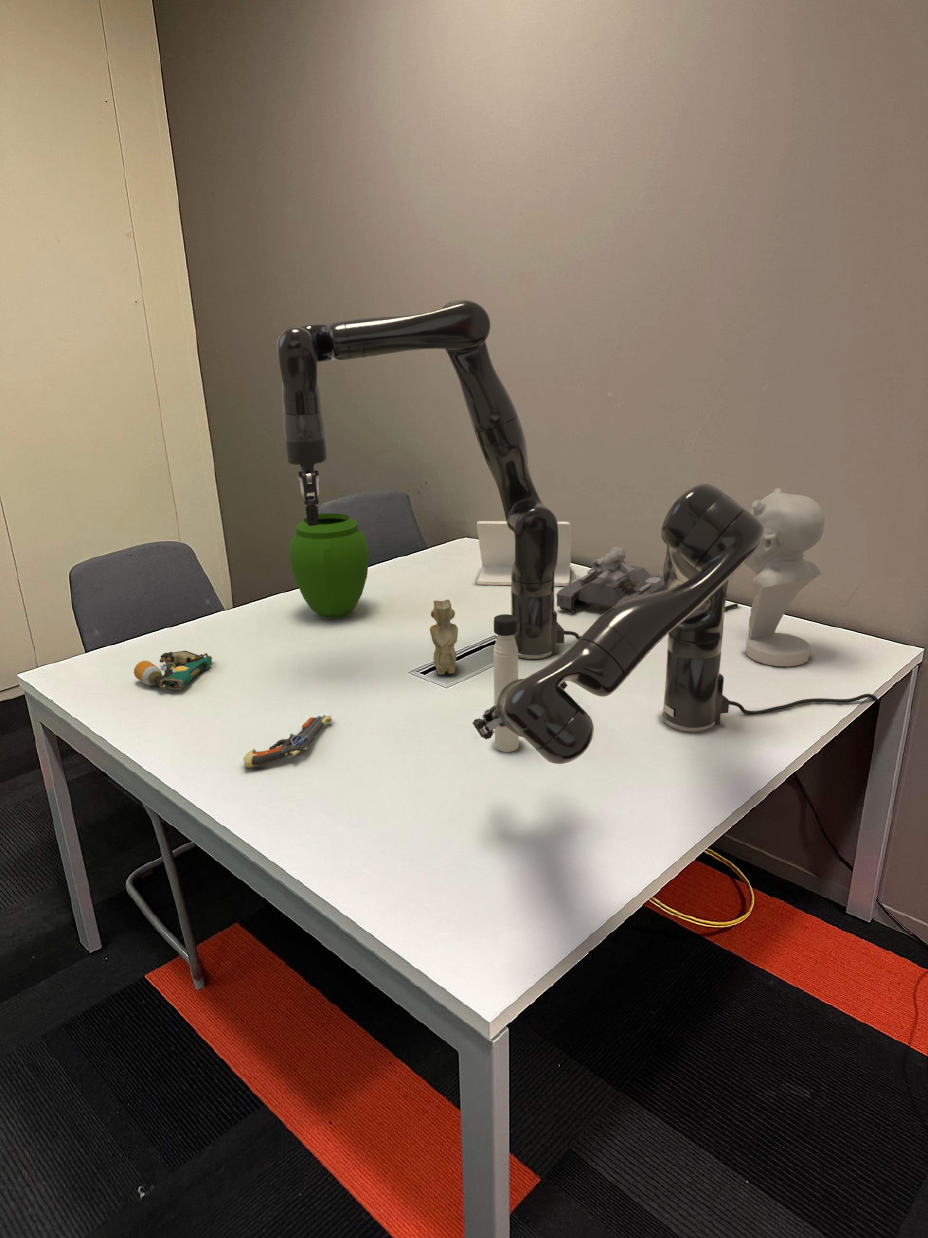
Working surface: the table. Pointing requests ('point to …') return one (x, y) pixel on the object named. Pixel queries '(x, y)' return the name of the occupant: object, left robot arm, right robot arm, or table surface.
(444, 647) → the sculpture
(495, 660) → the bottle
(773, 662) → the bust sculpture
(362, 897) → the table surface
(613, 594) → the toy
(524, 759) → the table surface
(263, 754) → the toy gun
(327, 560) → the vase
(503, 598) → the table surface
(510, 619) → the cap
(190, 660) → the spray gun
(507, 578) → the tablet stand
